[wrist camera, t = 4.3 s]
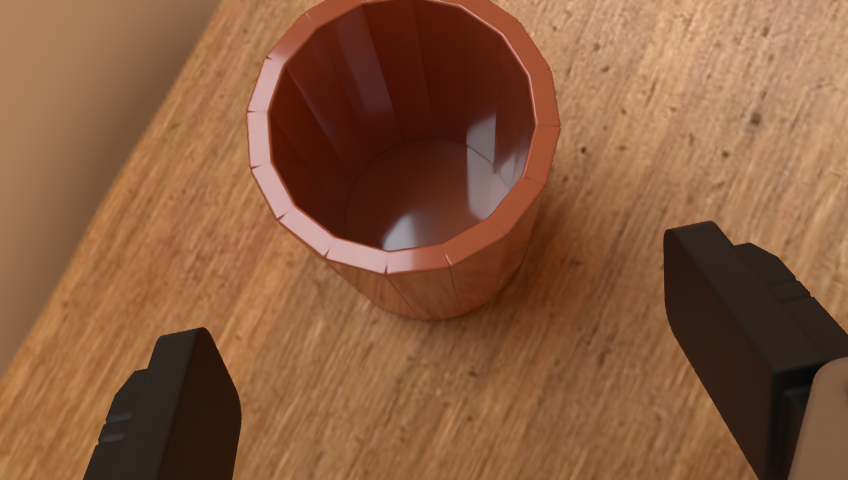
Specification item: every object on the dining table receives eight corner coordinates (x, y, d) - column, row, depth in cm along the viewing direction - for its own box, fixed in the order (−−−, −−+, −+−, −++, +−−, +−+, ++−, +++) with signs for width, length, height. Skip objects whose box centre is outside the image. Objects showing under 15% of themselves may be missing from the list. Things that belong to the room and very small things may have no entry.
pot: (342, 331, 23) (256, 292, 14) (325, 144, 24) (237, 0, 15) (541, 307, 22) (582, 251, 14) (513, 118, 24) (533, -44, 15)
